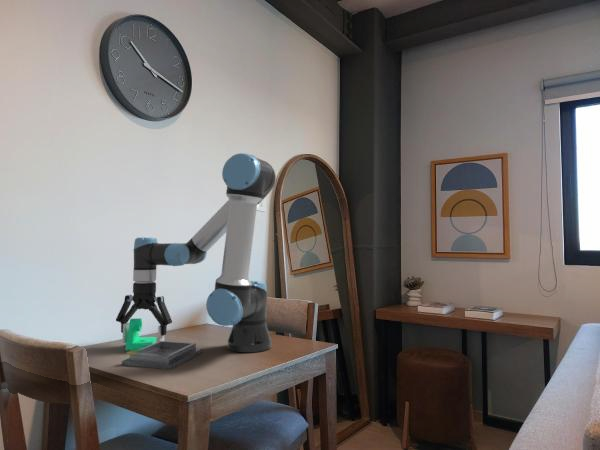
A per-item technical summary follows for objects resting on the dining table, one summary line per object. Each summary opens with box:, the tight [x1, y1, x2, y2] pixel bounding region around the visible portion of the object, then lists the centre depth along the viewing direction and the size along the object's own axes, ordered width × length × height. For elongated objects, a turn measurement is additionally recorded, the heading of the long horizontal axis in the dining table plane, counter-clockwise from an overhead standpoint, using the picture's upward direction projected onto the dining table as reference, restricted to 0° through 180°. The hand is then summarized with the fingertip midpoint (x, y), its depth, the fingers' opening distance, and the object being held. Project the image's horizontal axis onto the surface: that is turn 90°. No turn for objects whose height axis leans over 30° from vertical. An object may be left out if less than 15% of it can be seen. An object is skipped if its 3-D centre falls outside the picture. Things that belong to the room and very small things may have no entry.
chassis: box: [121, 340, 203, 370], centre depth 135 cm, size 16×20×4 cm
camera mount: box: [125, 318, 157, 351], centre depth 148 cm, size 12×8×10 cm, turn 8°
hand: (143, 343), depth 148 cm, fingers open, 13 cm apart
